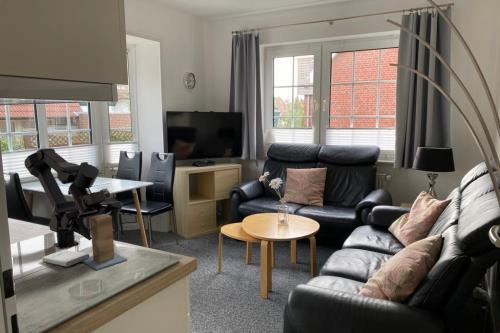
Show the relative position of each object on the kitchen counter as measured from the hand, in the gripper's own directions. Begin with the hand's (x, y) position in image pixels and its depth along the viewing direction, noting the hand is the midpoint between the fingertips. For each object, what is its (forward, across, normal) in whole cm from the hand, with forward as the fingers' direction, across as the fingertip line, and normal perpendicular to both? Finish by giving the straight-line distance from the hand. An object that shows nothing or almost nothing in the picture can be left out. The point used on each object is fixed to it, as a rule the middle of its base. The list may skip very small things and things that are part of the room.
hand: (104, 235), depth 115 cm
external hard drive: (-2, -7, +14) cm, 16 cm away
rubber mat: (+5, 0, +7) cm, 9 cm away
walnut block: (+5, 0, +7) cm, 8 cm away
